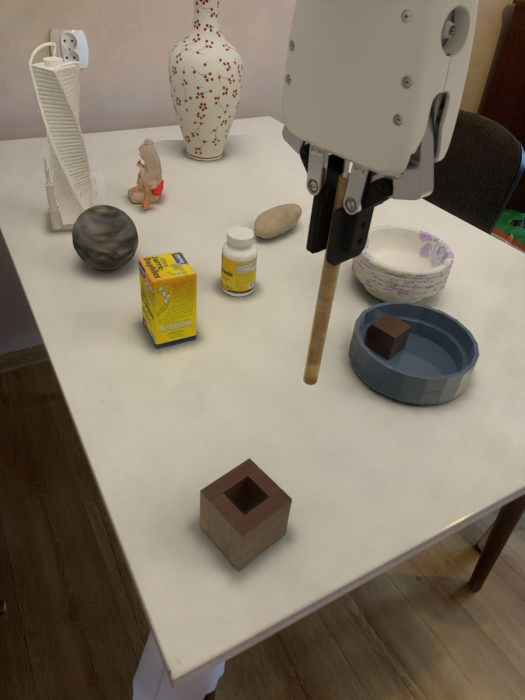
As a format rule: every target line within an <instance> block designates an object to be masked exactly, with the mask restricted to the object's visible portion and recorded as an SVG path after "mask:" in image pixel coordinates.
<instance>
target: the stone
mask: <svg viewBox="0 0 525 700" xmlns="http://www.w3.org/2000/svg"><path fill="white" fill-rule="evenodd" d="M302 214H303V209H302V207H301V205H300V204H297V203H284V204H280V205H277V206H273V207H271V208H269V209H266V210H265V211H263V212H262V213H260V214H258V216H257V217H256V219H255V221H254V224H253V232H254V234H255V235H256V236H257V237H259V238H262V239H273V238H276V237H279V236H281V235H283V234H285V233H287V232H288V231H289V230H290V229H291V228H293V227H294V226H295V225H296V224H297V223H298V222H299V220H300V219H301V217H302Z"/></svg>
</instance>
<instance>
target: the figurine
mask: <svg viewBox="0 0 525 700" xmlns="http://www.w3.org/2000/svg"><path fill="white" fill-rule="evenodd" d="M154 143H155V142H154V140H153V139H152V138H145V140H144V141H143V143H141V144H140V145H139V147H138V151H139V157H140V158H139V160H138V161H137V163H135V165H136V167H138V168H139V172H138V174H137V179H136V185H135V186H132V187H130V188H129V189H128V190H127V194H126V195H127V197H128V198H129V199H130V201H131V202H132V203H133V204H141V210H142V211H145V210H151V209H152V207H151V204H153V203H156V202H157V201H159V200H160V198H161V196H162V193H163V189H164V184H165V180H164V179H163V176H162V175H163V171H162V169H163V168H162V164H161V160H160V157H159V153H158V151H157V149H156V147H155V145H154ZM141 160H142V161H143V162H144V164H143V163H142V161H141Z"/></svg>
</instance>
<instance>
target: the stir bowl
mask: <svg viewBox="0 0 525 700" xmlns="http://www.w3.org/2000/svg"><path fill="white" fill-rule="evenodd" d="M387 313H389V314H391V315H392V316H394V317H396V318H398V319H399V320H401V321H403V322H404V323H406V324H408V325H410V326H411V330H410V333H409V336H408V339H407V342H406V345H405V348H404V349H403V350H402V351H400V352H399V353H398V354H396V355H395V356H394V357H392V358H391V359H389V360H387V359H385V358H384V357H382V356H380V355H379V354H377V353H376V352H374V351H372V350H371V349H369V348H368V347H367V346H366V341H367V337H368V334H369V330H370V326H371V323H373V322H375V321H376V320H378V319H379V318H381V317H382V316H384V315H386V314H387ZM348 349H349V350H348V359H349V362H350V365H351V367H352V369H353V371H355V373H356V374H357V375H358V377H359V378H360V379H361V381H363V382H364V383H365V384H367V385H368V386H369V387H371V388H372V389H374V390H375V392H377V393H379V394H382V395H383V396H387V397H389V398H391V399H393V400H396V401H399V402H404V403H410V404H415V405H438V404H439V405H440V404H442V403H446V402H448V401H452V400H454V399H455V398H457V397H458V396H459V395H461V394H462V393H463V392H464V391H465V389H466V387H467V385H468V383H469V380H470V378H471V376H472V373H473V371H474V369H475V367H476V364H477V362H478V360H479V357H480V351H479V349H480V348H479V344H478V341H477V340H476V338H475V336H474V335H473V334H472V332H471V331H470V329H468V327H466V326H465V325H464V324H463V323H462V322H461V321H460V320H458V319H457V318H455V317H453V316H451V315H450V314H448V313H446V312H445V311H442V310H439V309H437V308H434V307H432V306H429V305H426V304H422V303H418V302H415V303H412V302H397V301H389V302H386V301H383V302H380V303H376V304H375V303H374V304H373V305H371V306H369V307H368V308H365V309H364V310H362V311H361V313H360V314H359V316H358V317H357V318H356V319H355V323H354V326H353V331H352V335H351V339H350V343H349V348H348Z"/></svg>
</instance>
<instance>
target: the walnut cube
mask: <svg viewBox="0 0 525 700" xmlns="http://www.w3.org/2000/svg"><path fill="white" fill-rule="evenodd" d="M410 330H411V326H410V325H408V324H406V323H404V322H403V321H401V320H399V319H398V318H396V317H394V316H392V315H391V314H389V313H387V314H386V315H384V316H382V317H381V318H379V319H378V320H376V321H375V322H373V323H371V326H370V330H369V334H368V337H367V341H366V346H367V347H368V348H369V349H371V350H372V351H374V352H376V353H377V354H379V355H380V356H382V357H384V358H385V359H387V360H389V359H391V358H392V357H394V356H395V355H396V354H398V353H399V352H400V351H402V350H403V349H404V348H405V345H406V342H407V339H408V336H409V333H410Z"/></svg>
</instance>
